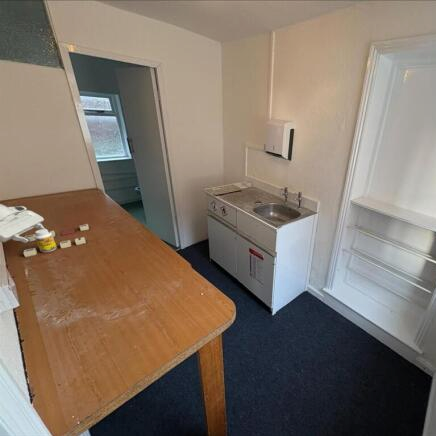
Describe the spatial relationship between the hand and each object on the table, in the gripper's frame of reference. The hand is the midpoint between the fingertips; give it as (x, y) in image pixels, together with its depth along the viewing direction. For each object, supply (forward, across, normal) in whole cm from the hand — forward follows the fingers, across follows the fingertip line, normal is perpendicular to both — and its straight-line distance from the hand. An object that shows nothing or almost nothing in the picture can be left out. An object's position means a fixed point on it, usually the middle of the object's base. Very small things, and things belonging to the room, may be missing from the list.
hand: (37, 236), depth 107 cm
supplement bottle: (+7, 0, +4) cm, 8 cm away
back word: (+2, +18, +9) cm, 20 cm away
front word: (+9, +2, +2) cm, 9 cm away
